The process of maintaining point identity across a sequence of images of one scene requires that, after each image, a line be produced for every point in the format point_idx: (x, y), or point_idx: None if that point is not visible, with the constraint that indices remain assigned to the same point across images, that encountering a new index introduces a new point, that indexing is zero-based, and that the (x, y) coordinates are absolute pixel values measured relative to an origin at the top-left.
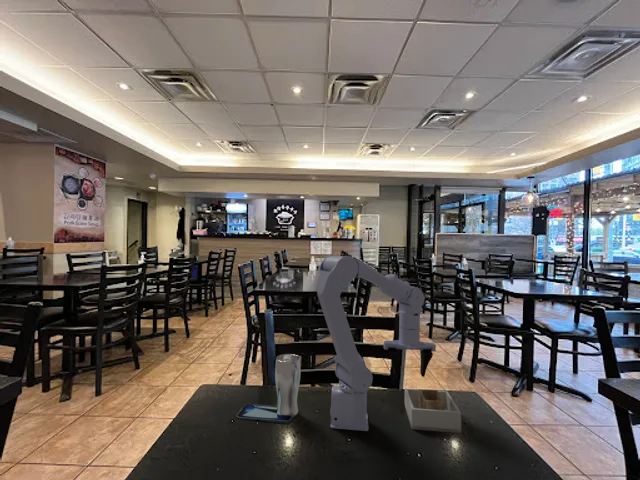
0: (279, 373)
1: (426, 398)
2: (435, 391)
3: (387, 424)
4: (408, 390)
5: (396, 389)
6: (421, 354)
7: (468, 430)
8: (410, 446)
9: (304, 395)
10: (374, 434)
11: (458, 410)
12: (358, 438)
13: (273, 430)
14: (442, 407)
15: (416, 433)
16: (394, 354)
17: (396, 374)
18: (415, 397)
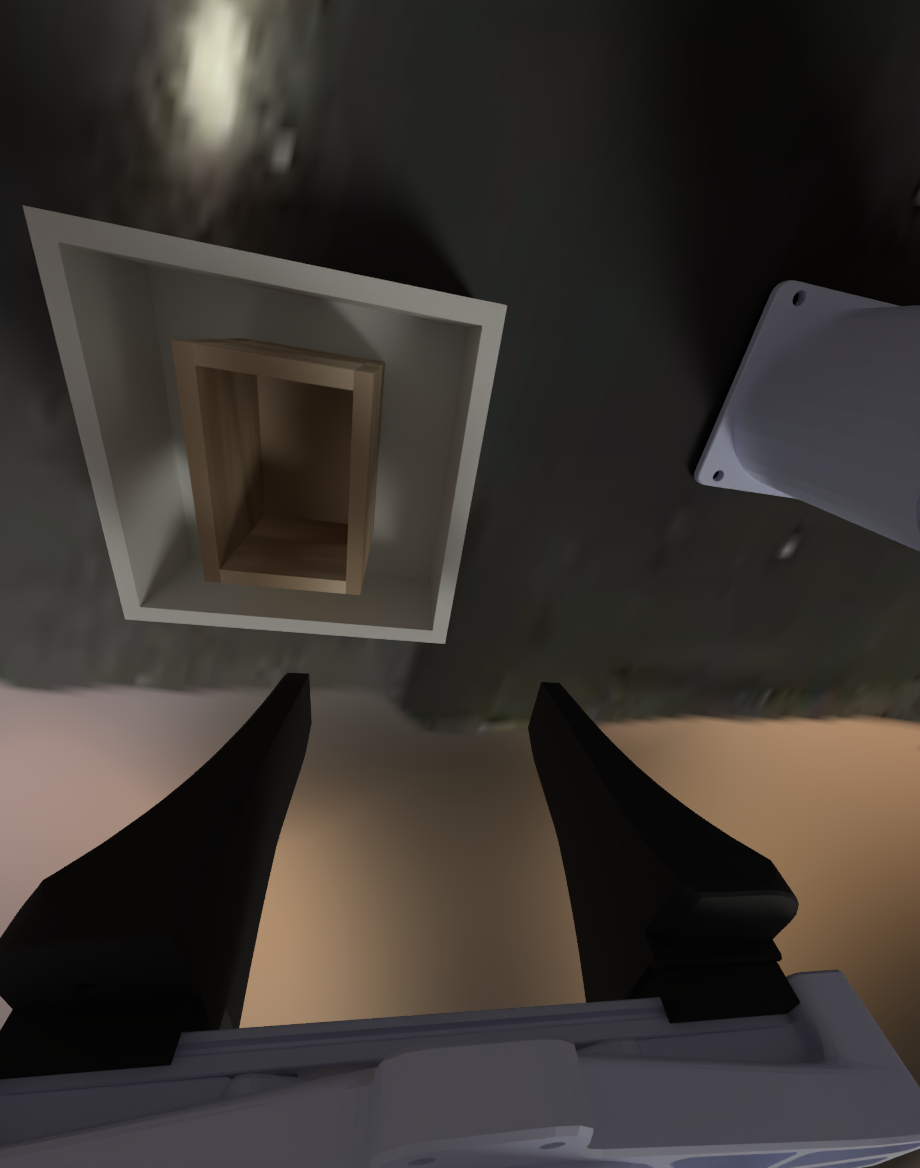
0: None
1: (313, 547)
2: (223, 567)
3: (614, 376)
4: (423, 626)
5: (430, 729)
6: (241, 940)
7: None
8: (574, 51)
9: (894, 653)
10: (747, 249)
11: (50, 267)
12: (869, 198)
13: None
14: (210, 342)
15: (468, 253)
16: (724, 873)
17: (551, 687)
18: (377, 597)
